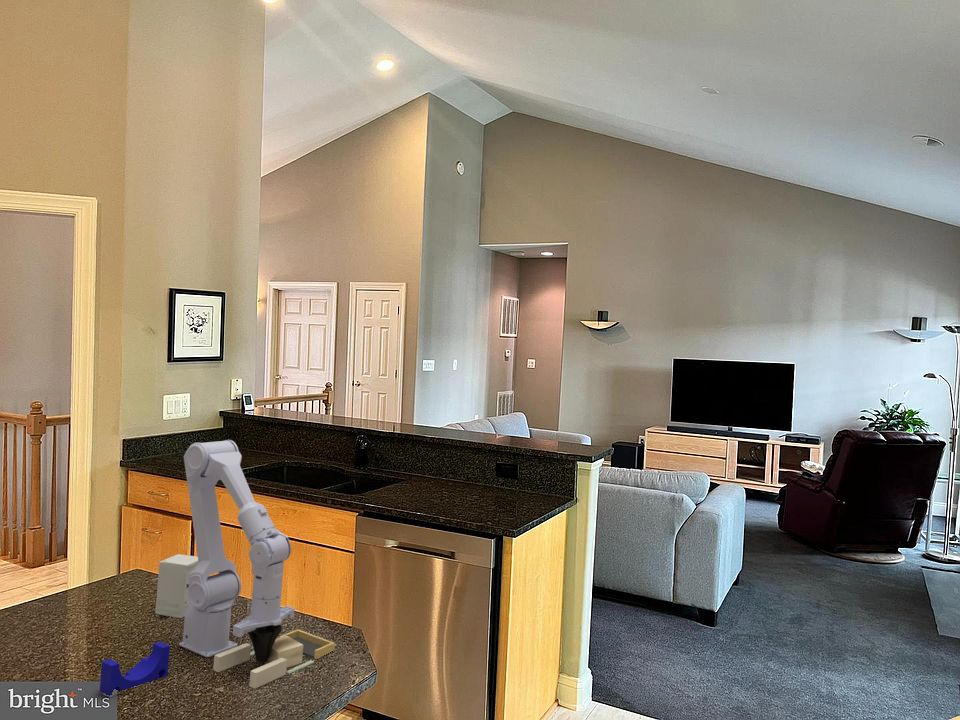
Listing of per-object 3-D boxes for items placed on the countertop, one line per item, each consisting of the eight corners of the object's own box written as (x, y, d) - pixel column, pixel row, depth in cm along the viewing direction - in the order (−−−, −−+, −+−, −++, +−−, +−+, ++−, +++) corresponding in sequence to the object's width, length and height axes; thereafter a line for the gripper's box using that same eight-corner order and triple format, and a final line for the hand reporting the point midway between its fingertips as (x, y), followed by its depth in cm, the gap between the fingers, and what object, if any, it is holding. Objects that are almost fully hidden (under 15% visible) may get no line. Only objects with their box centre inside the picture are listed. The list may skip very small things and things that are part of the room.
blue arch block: (153, 669, 144) (155, 639, 143) (167, 676, 141) (169, 645, 141) (94, 691, 133) (97, 659, 133) (109, 699, 131) (111, 666, 131)
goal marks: (245, 655, 152) (245, 654, 152) (270, 645, 158) (270, 644, 158) (289, 674, 146) (289, 672, 146) (314, 662, 152) (314, 661, 152)
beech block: (260, 661, 151) (262, 642, 151) (285, 654, 155) (287, 635, 155) (276, 671, 147) (278, 652, 147) (301, 663, 151) (303, 644, 151)
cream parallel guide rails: (213, 670, 145) (214, 655, 145) (244, 657, 152) (246, 643, 152) (254, 688, 139) (256, 673, 138) (285, 674, 145) (287, 659, 145)
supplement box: (182, 619, 169) (186, 565, 169) (154, 614, 170) (158, 561, 170) (200, 608, 176) (204, 557, 176) (173, 604, 177) (177, 552, 177)
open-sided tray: (278, 644, 159) (279, 636, 159) (297, 637, 164) (297, 629, 164) (316, 659, 153) (316, 650, 153) (334, 651, 158) (334, 642, 158)
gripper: (252, 609, 139) (247, 679, 139) (306, 591, 152) (301, 655, 152) (227, 600, 143) (222, 668, 143) (282, 583, 155) (277, 645, 155)
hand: (261, 661), depth 148 cm, fingers closed
